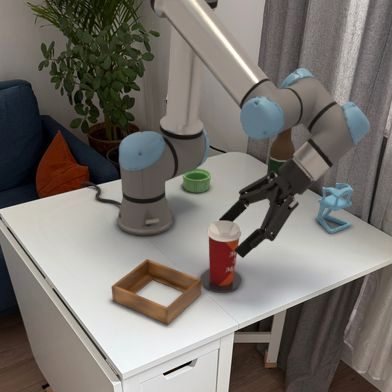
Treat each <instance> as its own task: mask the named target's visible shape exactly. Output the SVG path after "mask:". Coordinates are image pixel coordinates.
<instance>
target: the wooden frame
mask: <svg viewBox="0 0 392 392" xmlns="http://www.w3.org/2000/svg"><path fill="white" fill-rule="evenodd" d="M152 281H154V282H157V283H160V284H162V285H164V286H167V287H169V288H170V287H171V288H173V289H175V290H177V291H180V292H182V293H181V294H180V295H179V296H178V297H177V298H176V299H175V300H174V301H172V302H171V303H170V304H169V305H167V306H165V305H162V304H160V303H158V302H156V301H153V300H151V299H148V298H147V297H146V298H145V297H143V296H142V295H138V294H137V293H138V292H139V291H141V290H142V289H143V288H144V287H146V286H147V285H148V284H149V283H151V282H152ZM110 288H111V296H112V297H111V298H112V301H113V302H116V303H118V304H120V305H122V306H125V307H127V308H129V309H132V310H134V311H137V312H139V313H141V314H143V315H145V316H148V317H149V318H152V319H155V320H156V321H159V322H162V323H164V324H166V325H170V324H171V323H172V322H173V321H174V320H175V319H176V318H177V317H178V316H179V315H180V314H181V313H182V312H184V311H185V310H186V309H187V308H188V307H189V306H190V305H191V304H192V303H193V302H194V301H195V300H196V299H198V298H199V296H200V295H202V284H201V279H200V278H197V277H195V276H193V275H190V274H188V273H185V272H182V271H180V270H177V269H175V268H171V267H169V266H167V265H165V264H162V263H159V262H156V261H153V260H151V259H148V258H146V259H145V260H144V261H142V262H141V263H140V264H138V265H137V266H136V267H135V268H134V269H132V270H130V271H129V272H128V273H127V274H126V275H124V276H123V277H122V278H119V280H117V282H115V283H114V284H112V285H111V287H110Z"/></svg>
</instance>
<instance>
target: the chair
mask: <svg viewBox="0 0 392 392" xmlns="http://www.w3.org/2000/svg"><path fill="white" fill-rule="evenodd" d="M341 187H342V188H341ZM339 188H340V189H339ZM326 192H327V193H330V194H331V195H328V196H327V194H326ZM353 194H354V189H353V188H352V187H351V185H350V184H348V183H345V182H344V183H343V182H342V183H338V182H336V183H335V187H334V186H333V187H332V186H331V187H323V186H322V197H321V198H318V203H319V209H318V212H317V216H316V221H317V222H318V223H319V224H320V225H321V226H322V227H323V228H324V229H325V230H326V231H327V233H329V234H331V235H333V234H335V233H337V232H340V231H342V230H346V229H347V228H350V227H351V223H350V222H349V221H346V220H344V219H340V218H337V217H334V216H332V215H330V214H331V212H332V211H333V212H338V211H340V210H342V209H345V208H349V207H351V206H352V204H353V202H352V201H350V199H351V196H352V195H353ZM346 195H347V197H346V199H345V198H344V197H345V196H346ZM324 211H325V212H324ZM324 219H325V220H327V221H331V222H334V223H337V224H340V226H337V227H335V228H331V227H330V226H329V225H328V223H327V222H326V221H325V220H324Z"/></svg>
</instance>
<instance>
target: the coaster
mask: <svg viewBox="0 0 392 392" xmlns="http://www.w3.org/2000/svg"><path fill="white" fill-rule="evenodd" d="M199 279H201V286H202V287H204V288H205V289H206V290H208V291H210V292H213V293H218V294H226V293H231V292H234V291H236V290H237V289H239V288H240V287H241V285H242V276H241V274H239V273H238V272H237V271H235V270H234V276H233V280H232V282H231V283H230V284H228V285H225V286H219V285H215V284H213V283H212V282H211V280H210V268H208V269H207V270H205V271H203V273H202V274H201V275H200V278H199Z"/></svg>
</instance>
